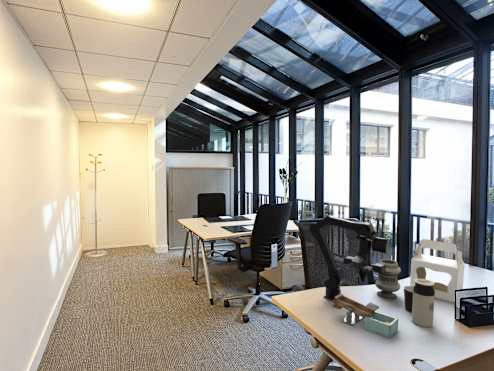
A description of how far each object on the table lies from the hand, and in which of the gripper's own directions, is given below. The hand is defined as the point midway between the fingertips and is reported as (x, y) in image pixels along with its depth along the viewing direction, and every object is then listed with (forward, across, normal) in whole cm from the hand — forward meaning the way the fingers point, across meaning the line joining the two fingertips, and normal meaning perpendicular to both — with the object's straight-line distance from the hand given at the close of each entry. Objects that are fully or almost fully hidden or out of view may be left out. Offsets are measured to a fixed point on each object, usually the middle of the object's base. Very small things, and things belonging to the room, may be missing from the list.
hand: (362, 282), depth 152 cm
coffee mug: (+12, +19, +15) cm, 27 cm away
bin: (+11, +16, -16) cm, 25 cm away
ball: (+9, +18, -16) cm, 26 cm away
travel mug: (+11, +26, +4) cm, 28 cm away
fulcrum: (+12, +4, -16) cm, 20 cm away
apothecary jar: (+12, +3, +23) cm, 26 cm away
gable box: (+12, +19, +46) cm, 51 cm away
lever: (+9, +4, -12) cm, 15 cm away
